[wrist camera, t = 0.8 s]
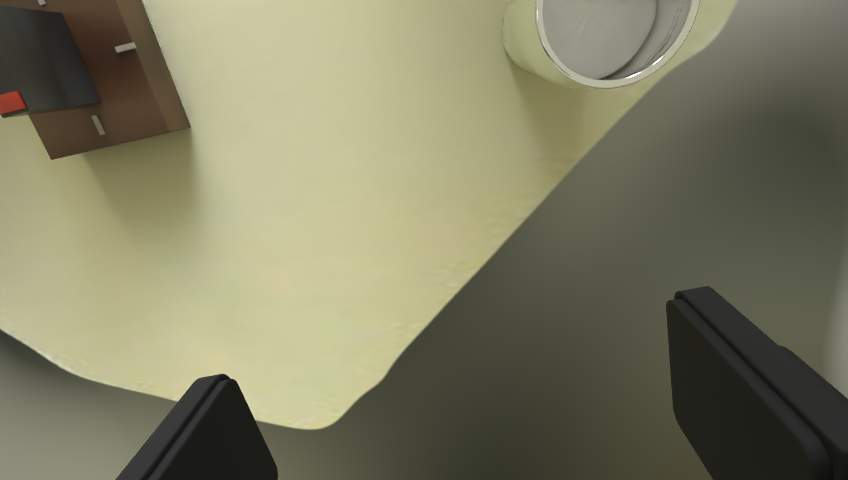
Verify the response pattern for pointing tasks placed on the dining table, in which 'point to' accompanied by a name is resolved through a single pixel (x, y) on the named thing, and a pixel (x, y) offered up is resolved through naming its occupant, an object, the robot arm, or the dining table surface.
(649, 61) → the beer glass
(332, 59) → the dining table surface
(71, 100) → the knob
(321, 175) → the dining table surface
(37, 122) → the console
